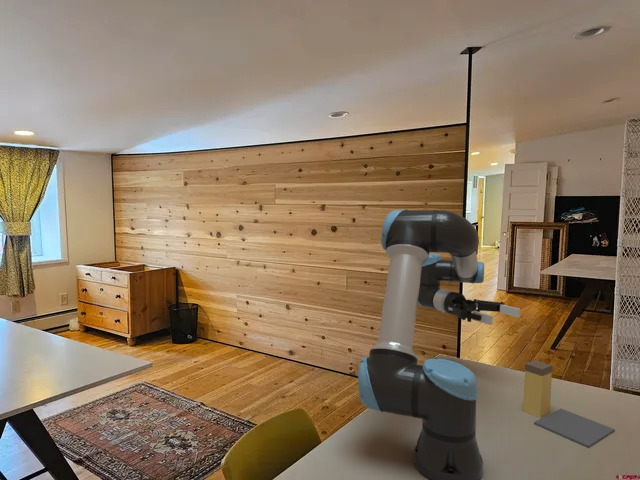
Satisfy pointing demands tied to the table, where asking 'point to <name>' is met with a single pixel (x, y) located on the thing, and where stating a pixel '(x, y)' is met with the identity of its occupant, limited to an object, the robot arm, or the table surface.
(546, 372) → the ochre post
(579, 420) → the charcoal mat
